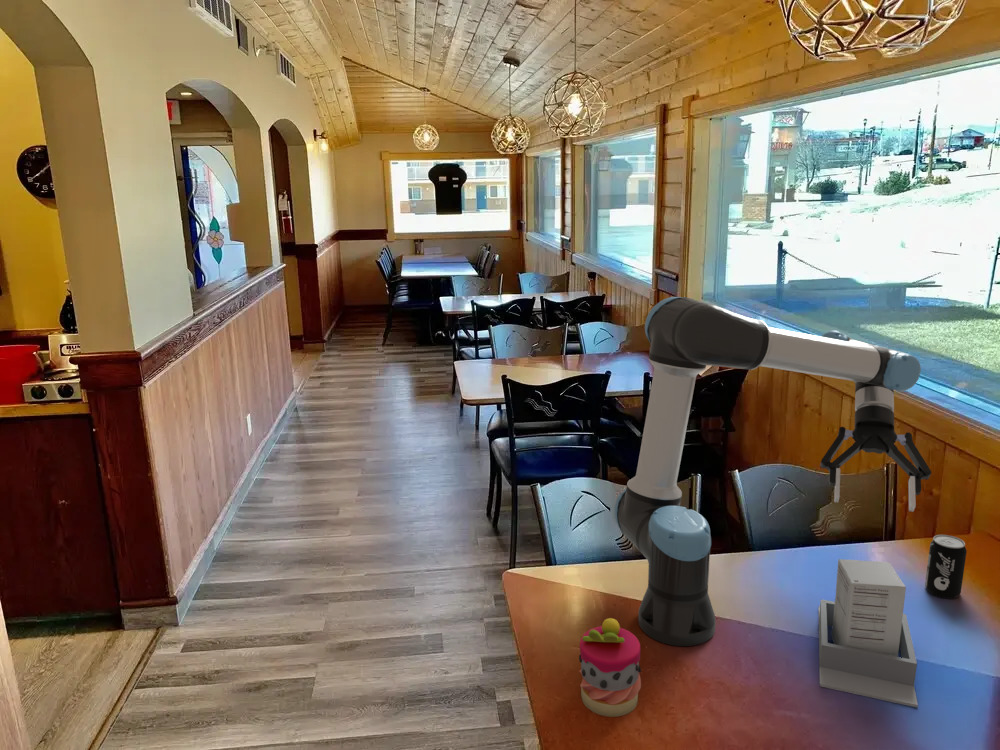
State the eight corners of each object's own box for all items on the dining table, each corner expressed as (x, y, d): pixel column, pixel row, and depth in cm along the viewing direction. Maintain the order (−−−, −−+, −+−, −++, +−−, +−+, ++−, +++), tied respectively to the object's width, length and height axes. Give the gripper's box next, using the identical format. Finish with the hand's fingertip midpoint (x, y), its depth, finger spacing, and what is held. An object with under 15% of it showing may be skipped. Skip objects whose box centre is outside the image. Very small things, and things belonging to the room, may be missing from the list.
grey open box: (819, 686, 125) (822, 661, 123) (818, 608, 148) (820, 586, 146) (917, 707, 119) (921, 681, 118) (900, 623, 142) (902, 600, 141)
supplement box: (897, 671, 128) (908, 587, 124) (842, 666, 130) (851, 583, 125) (881, 639, 137) (890, 560, 133) (830, 635, 139) (837, 557, 135)
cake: (578, 675, 129) (578, 602, 125) (637, 678, 128) (639, 604, 124) (579, 716, 119) (579, 638, 115) (642, 719, 118) (644, 640, 114)
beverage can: (967, 599, 149) (974, 547, 146) (935, 600, 149) (942, 548, 146) (948, 583, 156) (955, 533, 153) (918, 583, 156) (924, 533, 153)
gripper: (937, 425, 151) (941, 519, 142) (810, 415, 161) (805, 502, 151) (945, 408, 145) (949, 505, 136) (812, 399, 155) (808, 489, 145)
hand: (873, 504), depth 143 cm, fingers open, 13 cm apart
